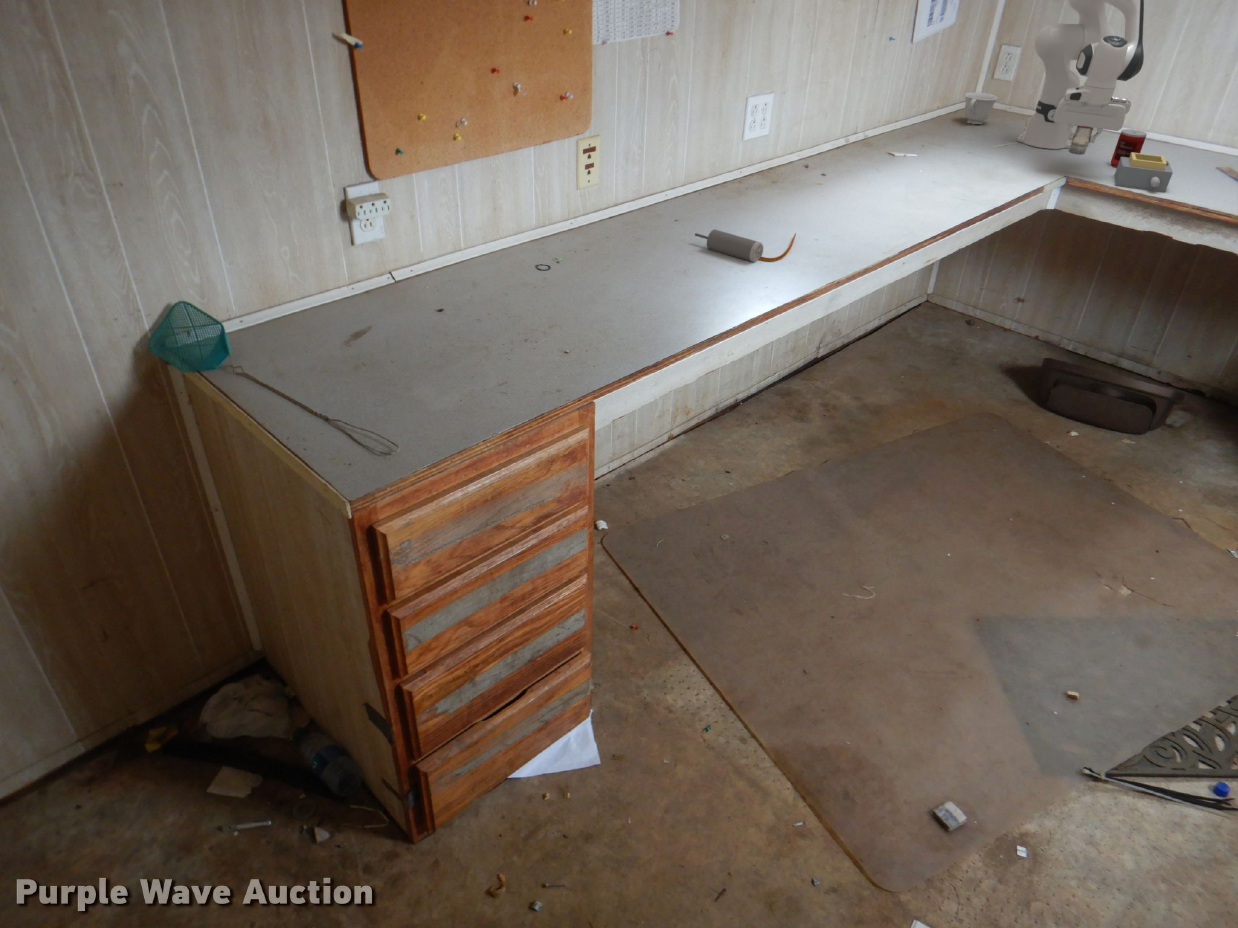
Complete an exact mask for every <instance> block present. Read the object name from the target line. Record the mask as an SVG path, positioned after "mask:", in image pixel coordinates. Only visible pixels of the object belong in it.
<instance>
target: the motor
mask: <svg viewBox="0 0 1238 928" xmlns="http://www.w3.org/2000/svg"><path fill="white" fill-rule="evenodd" d="M694 236H695V237H698V238H702V239H705V240H706V248H707V249H708V250H712V251H715V252H716V253H717V252H718V253H721V254H725V255H728V256H731V257H734V258H737V259H741V260H744V261H749V262H750V263H757V262H758V261H763V262H769V263H770V262H776V261H779V260H780V261H781V259H783V258H785V257H786V256H787V254H788V253H789V252H790V250H791V248H792V247H793V244H794V242H795V238H796V236H797V233H794V234H793V238H792V240H791V242H790V244H789V245H788V247H787V249H786V250H785V251H784V252H783V253H782V254H781V255H778V256H776V257H764V256H763V252H764V244H763V243H762V242H760V241H756V240H754V239H750V238H747V237H743V236H740V235H736V234H732V233H730V232H725V231H722V230H718V229H712V230H711V231H710V232H709V234H708V236H707V235H704V234H700V233H697V232H696V233H694Z"/></svg>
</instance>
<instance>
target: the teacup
mask: <svg viewBox="0 0 1238 928" xmlns="http://www.w3.org/2000/svg"><path fill="white" fill-rule="evenodd" d="M964 97H965V105H964V117H965V118H966V119H967V121H966V123H967V122H968V123H967V124H969V123H972V124H981V123H982V124H983V122H984V121H986V120H987V119H989V117H990V115H991V112H992V110H993V108H994V105H995V103H996V100H998V99H999V97H998V96H997V95H994V94H990V93H984V92H967V93H965V94H964ZM972 124H971V125H972ZM982 124H981V125H982Z"/></svg>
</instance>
